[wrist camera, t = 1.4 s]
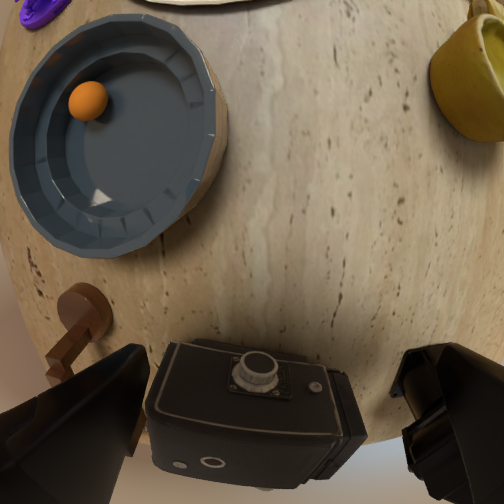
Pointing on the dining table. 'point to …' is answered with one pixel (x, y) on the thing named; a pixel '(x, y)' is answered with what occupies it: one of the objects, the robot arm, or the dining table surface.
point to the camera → (250, 416)
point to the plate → (195, 2)
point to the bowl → (117, 136)
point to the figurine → (40, 12)
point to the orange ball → (88, 101)
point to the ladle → (77, 328)
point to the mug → (473, 74)
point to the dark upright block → (136, 434)
